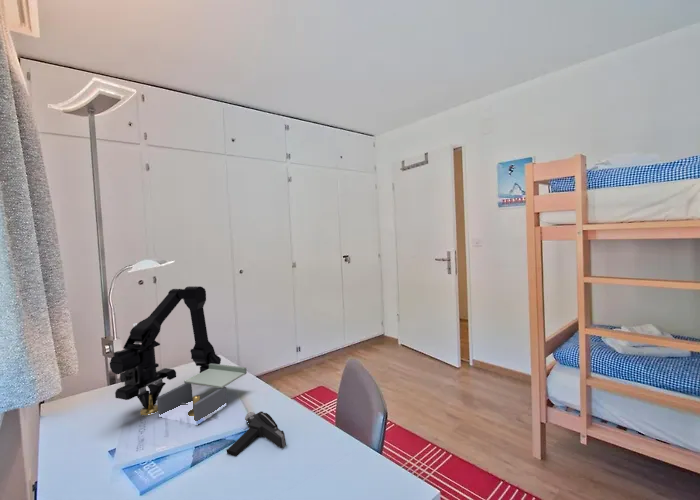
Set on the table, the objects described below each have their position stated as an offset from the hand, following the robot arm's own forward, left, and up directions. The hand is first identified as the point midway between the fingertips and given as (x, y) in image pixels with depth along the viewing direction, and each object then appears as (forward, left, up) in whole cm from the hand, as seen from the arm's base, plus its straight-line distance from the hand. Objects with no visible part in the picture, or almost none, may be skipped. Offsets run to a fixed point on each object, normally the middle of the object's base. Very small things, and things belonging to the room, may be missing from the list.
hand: (149, 407), depth 120 cm
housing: (-4, +15, -2) cm, 16 cm away
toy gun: (+2, +44, -3) cm, 44 cm away
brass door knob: (0, 0, -2) cm, 2 cm away
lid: (-15, +15, +6) cm, 22 cm away
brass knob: (-2, +19, -1) cm, 19 cm away
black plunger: (-18, -29, -2) cm, 34 cm away
